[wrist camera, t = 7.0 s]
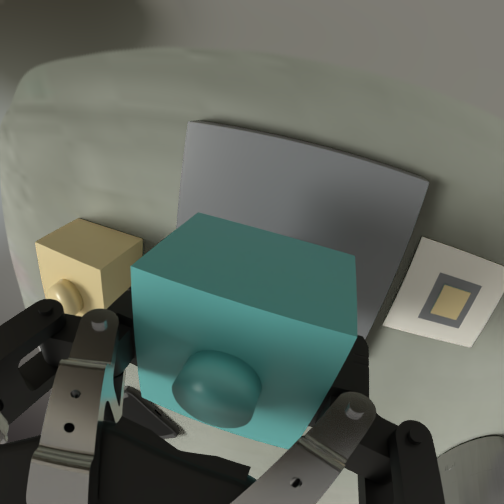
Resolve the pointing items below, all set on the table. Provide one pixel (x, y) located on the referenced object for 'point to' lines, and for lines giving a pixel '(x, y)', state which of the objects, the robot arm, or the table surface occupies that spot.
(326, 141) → the table surface
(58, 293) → the yellow knobbed block
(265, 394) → the teal brick
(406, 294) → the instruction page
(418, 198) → the plate
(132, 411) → the phone
